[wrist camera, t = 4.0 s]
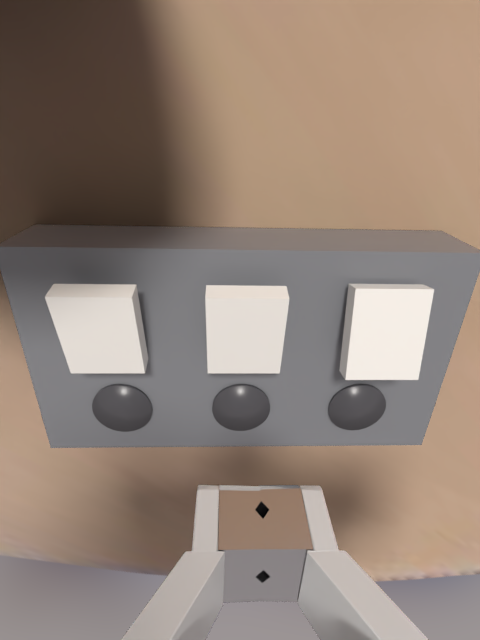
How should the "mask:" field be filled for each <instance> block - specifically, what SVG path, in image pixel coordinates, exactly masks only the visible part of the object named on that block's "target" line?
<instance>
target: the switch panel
mask: <svg viewBox="0 0 480 640" xmlns="http://www.w3.org/2000/svg"><path fill="white" fill-rule="evenodd" d="M0 270H1V274H2V277H3V281H4V284H5V288H6V291H7V295H8V298H9V302H10V305H11V309H12V312H13V316H14V319H15V323H16V327H17V330H18V334H19V337H20V341H21V344H22V348H23V351H24V355H25V358H26V362H27V365H28V369H29V372H30V376H31V379H32V383H33V386H34V390H35V394H36V397H37V401H38V404H39V408H40V411H41V415H42V418H43V422H44V425H45V429H46V432H47V436H48V439H49V443H50V446H51V448H89V447H219V446H348V445H422V442H423V439H424V436H425V433H426V430H427V427H428V424H429V421H430V418H431V415H432V412H433V409H434V406H435V403H436V400H437V397H438V394H439V391H440V388H441V385H442V382H443V379H444V376H445V373H446V370H447V367H448V364H449V361H450V358H451V355H452V352H453V349H454V346H455V343H456V340H457V337H458V334H459V331H460V328H461V325H462V322H463V319H464V316H465V313H466V310H467V307H468V304H469V301H470V298H471V295H472V292H473V289H474V286H475V283H476V280H477V277H478V274H479V271H480V250H479V249H477V248H475V247H473V246H471V245H469V244H467V243H465V242H463V241H461V240H459V239H457V238H455V237H453V236H451V235H449V234H447V233H445V232H443V231H422V230H358V229H295V228H231V227H167V226H104V225H40V224H35V225H33V226H31V227H29V228H27V229H25V230H24V231H22V232H20V233H18V234H16V235H14V236H12V237H11V238H9V239H7V240H5V241H3V242H1V243H0ZM53 284H134V285H137V291H138V298H139V304H140V310H141V316H142V322H143V329H144V335H145V341H146V347H147V353H148V363H147V367H146V371H145V373H71V372H70V369H69V366H68V363H67V361H66V358H65V355H64V352H63V349H62V346H61V343H60V340H59V337H58V334H57V331H56V329H55V326H54V323H53V320H52V317H51V314H50V311H49V308H48V305H47V302H46V299H45V296H46V294H47V293H48V291H49V290H50V288H51V287H52V285H53ZM348 284H423V285H426V286H428V287H430V288H432V289H434V294H433V300H432V305H431V311H430V316H429V322H428V328H427V333H426V339H425V345H424V350H423V356H422V362H421V367H420V373H419V379H418V380H345V379H344V377H343V376H342V374H341V373H340V371H339V369H340V360H341V350H342V341H343V331H344V322H345V313H346V303H347V294H348ZM206 285H239V286H287V290H288V295H289V306H288V314H287V322H286V329H285V337H284V344H283V352H282V360H281V367H280V373H208V369H207V337H206V306H205V295H206Z"/></svg>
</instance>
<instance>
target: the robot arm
mask: <svg viewBox="0 0 480 640" xmlns="http://www.w3.org/2000/svg"><path fill="white" fill-rule="evenodd" d="M218 512H219V517H218ZM250 601H282V602H283V601H284V602H287V601H288V602H298V606H299V607H300V609H301V610H302V612H303V613H304V615H305V617H306V618H307V620H308V621H309V623H310V624H311V626H312V628H313V629H314V631H315V632H316V634H317V636H318V637H319V639H320V640H428V639H427V638H426V637H425V635H424V634H423V633H422V632H421V631H420V630H419V629H418V628H417V627H416V626H415V625H414V624H413V623H412V621H411V620H410V619H409V618H408V617H407V616H406V615H405V614H404V613H403V612H402V611H401V610H400V609H399V608H398V607H397V605H396V604H395V603H394V602H393V601H392V600H391V599H390V598H389V597H388V596H387V595H386V594H385V592H383V590H381V588H380V587H379V586H378V585H377V584H376V583H375V582H374V581H373V580H372V579H371V577H370V576H369V575H368V574H367V573H366V572H365V571H364V570H363V569H362V568H361V567H360V566H359V565H358V564H357V562H356V561H355V560H354V559H353V558H352V557H351V556H350V555H349V554H348V553H347V552H346V551H344V550H339V549H338V545H337V541H336V538H335V534H334V531H333V527H332V523H331V520H330V516H329V512H328V509H327V505H326V502H325V498H324V494H323V491H322V488H321V487H320V486H298V485H266V486H231V485H198V489H197V496H196V508H195V520H194V532H193V543H192V551H185V553H184V554H183V555H182V557H181V558H180V559H179V561H178V562H177V564H176V565H175V566H174V568H173V569H172V570H171V572H170V573H169V575H168V576H167V577H166V579H165V580H164V582H163V583H162V584H161V586H160V587H159V588H158V590H157V591H156V592H155V594H154V595H153V597H152V598H151V599H150V601H149V602H148V603H147V605H146V606H145V607H144V609H143V610H142V612H141V613H140V614H139V616H138V617H137V618H136V620H135V621H134V623H133V624H132V625H131V627H130V628H129V629H128V631H127V632H126V634H125V635H124V636H123V638H122V639H121V640H206V638H207V636H208V634H209V632H210V630H211V628H212V626H213V624H214V622H215V620H216V618H217V616H218V614H219V612H220V610H221V608H222V606H223V603H226V602H250Z"/></svg>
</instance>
